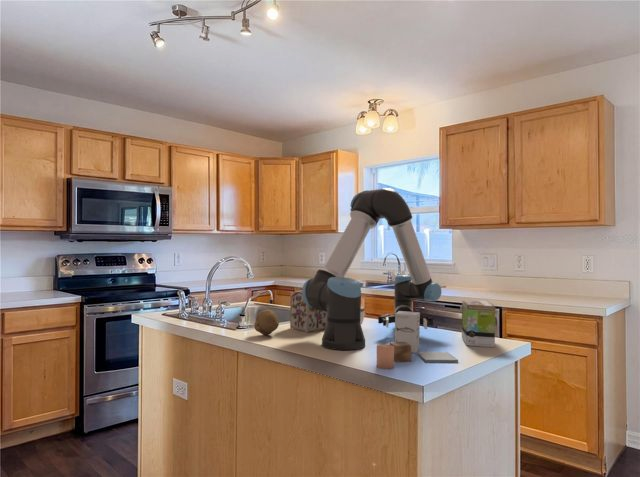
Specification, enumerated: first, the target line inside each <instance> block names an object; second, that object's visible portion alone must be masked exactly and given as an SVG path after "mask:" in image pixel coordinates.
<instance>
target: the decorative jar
mask: <svg viewBox="0 0 640 477" xmlns="http://www.w3.org/2000/svg"><path fill="white" fill-rule="evenodd" d="M289 311H290V312H289V318H290V319H289V323H290V324H289V327H290V329H292V328H293V330H295V331H300V330H301V331H302V332H304V331H305V333H312V332H319V331H323V330H324V329H325V328H326V325H327V312H326V311H321V310H315V309H313V308H311V307H309V306H307V305H306V303H305V302H304V300H303V296H302V289H297V290H296V291H295V292H293V294H292V295H291V296H290V310H289ZM318 330H319V331H318ZM324 331H325V330H324Z"/></svg>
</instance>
